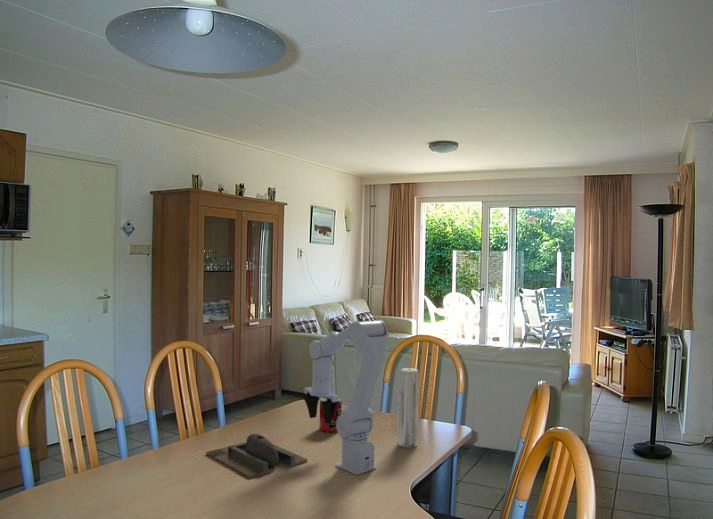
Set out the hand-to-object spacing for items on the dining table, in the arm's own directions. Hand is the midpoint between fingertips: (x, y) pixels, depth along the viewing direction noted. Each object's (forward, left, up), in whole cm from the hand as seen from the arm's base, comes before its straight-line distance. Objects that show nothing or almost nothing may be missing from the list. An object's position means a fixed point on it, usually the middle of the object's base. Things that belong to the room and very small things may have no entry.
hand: (320, 420), depth 179 cm
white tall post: (-15, -25, -10) cm, 31 cm away
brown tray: (+7, +20, -9) cm, 23 cm away
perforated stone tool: (+2, +20, -10) cm, 22 cm away
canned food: (+14, -16, -10) cm, 24 cm away
